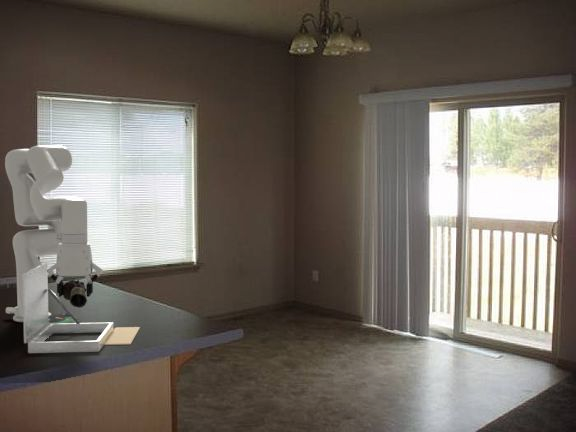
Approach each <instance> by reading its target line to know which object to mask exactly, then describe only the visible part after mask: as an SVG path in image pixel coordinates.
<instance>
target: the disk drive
mask: <svg viewBox="0 0 576 432" xmlns="http://www.w3.org/2000/svg"><path fill="white" fill-rule="evenodd" d="M77 320H78V321H79V322H80V323H82V321H81V320H80V319H79V318H77ZM49 322H51V324H56V323H76V322H75V321H74V320H73V319H72V318H71V317H70V315H69V314H68V313H67V312H64V313H56V314H51V315H50V316H49Z"/></svg>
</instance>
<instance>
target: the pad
mask: <svg viewBox="0 0 576 432" xmlns="http://www.w3.org/2000/svg"><path fill="white" fill-rule="evenodd" d="M140 328H141V326H128V327H127V326H125V327H124V326H121V327H115V328H114V330H113V332H112V333H111V334H110V336H109V337H108V339H107V340H106V341H105V343H104V345H103V346H128V345H132V343H133V342H134V339H135V337H136V336H137V334H138V333H139V331H140Z"/></svg>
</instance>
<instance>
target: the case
mask: <svg viewBox="0 0 576 432" xmlns="http://www.w3.org/2000/svg"><path fill="white" fill-rule="evenodd" d="M47 269H48V262H43V263H42V265H40V266H38V267H36V268H34V269H32V270H30V271H28V272H26V273H24V274H22V287H23V322H22V323H23V344H27V353H28V354H50V353H52V354H53V353H54V354H55V353H89V352H93V353H95V352H101V349H102V348H103V347H104V346H105V345H104V343H105V341H106V340H107V339H108V337H109V336H110V334H111V333H112V332H113V330H114V329H115V328H114V327H115V326H114V324H115V323H114V322H113V321H112V322H111V321H110V322H109V321H108V322H81V321H80V322H81V323H80V322H79V321H78V320H77V319H78V318H77V317H76V316H75V315H74V314H73V313H72V311H71V310H70V309H69V308H68V307H67V306H66V304H64V302H63V301H62V300H61V299H60V297H59V296H57V295H56V293H55V292H54V291H53V290H52V289H51V288H49V285H48V284H49V281H48V279H49V278H48V275H49V274H48V273H47ZM49 294H50V296H52V298H54V300H55V301H56V302H57V303H58V304H59V305H60V306H61V307H62V309H63V310H64V311H65V313H67V314H69V315H70V317H71V318H72V319H73V320H74V321H75V322H76V323H56V324H51V322H49V313H50V312H49ZM48 312H49V313H48ZM73 333H74V334H82V333H83V334H84V333H86V334H87V333H89V334H91V333H92V334H93V333H101V334H100V335H99V336H98V337H97V339H96V340H62V341H61V340H60V341H54V340H53V341H47V340H48V339H49V338H50V337H51V336H52V335H54V334H73ZM49 336H50V337H49ZM47 338H48V339H47ZM46 339H47V340H46ZM45 340H46V341H45Z"/></svg>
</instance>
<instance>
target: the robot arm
mask: <svg viewBox="0 0 576 432" xmlns="http://www.w3.org/2000/svg"><path fill="white" fill-rule="evenodd" d="M70 151H71V150H69V149H68V148H67V147H66V146H63V145H45V144H44V145H43V144H42V145H41V144H39V145H34V146H31V147H30V148H18V149H17V148H16V149H12V150H9V152H7V154H6V155H5V158H4V160H5V161H4V168H5V172H6V175H7V178H8V180H9V183H10V185H11V188H12V198H13V207H14V208H13V209H14V217H15V222H16V223H17V225H19V226H22V227H39V226H40V227H41V226H42V227H44V226H46V227H47V228H45V229H44V228H43V229H40V228H39V229H26V230H21V231H18V232H17V233H15V235H14V236H13V238H12V248H13V252H14V256H15V257H14V258H15V266H16V267H15V270H16V294H17V295H16V296H17V306H15V307H12V306H11V307H9V306H8V307H6V308H5V313H6V314H9V315H11V314H14V315H13V317H12V319H13V321H14V322H18V323H24V322H23V287H22V274H24V273H26V272H28V271H30V270H32V269H34V268H36V267H38V266H40V265H42V264H43V263H42V261H40V259H39V257H47V256H56V263H54V265H52V266H50V267H49V268H47V275H49V276H50V278H51V279H52V281H54V282H55V284H56V294H58V298H61V297H62V296H63V285H64V284H65V283H64V282H63V280H64V278H68V277H69V278H70V277H71V278H83V277H84V278H85V280H86V281H87V283H86V285H85V288H86V292H85V294H86V298H88V297H89V298H90V297H91V295H92V294H93V292H94V290H93V289H94V286H93V285H94V282H95V280H97V279H98V278H99V277H100V275H101V274H102V273H103V269H102V268H101V267H100V266H98V265H96V263H94V262H93V255H92V249H91V248H92V247H91V244H90V242H88V202H87V200H85V199H84V198H79V197H78V196H69V195H67V196H62V195H61V196H45V194H47V193H49V192H52V191H54V190H56V189H58V188H59V187H60V186H61V185H62V184H63V182H64V174H63V172H66V171H68V170H69V169H70V168H71V167H72V164H73V156H72V153H71V152H70ZM30 174H32V176H33V177H32V176H30ZM93 270H94V271H95V274H94V275H92V273H93ZM54 271H55V272H56V273H55V272H54ZM48 313H49V316H50V315H52V313H51V312H49V311H48Z"/></svg>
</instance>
